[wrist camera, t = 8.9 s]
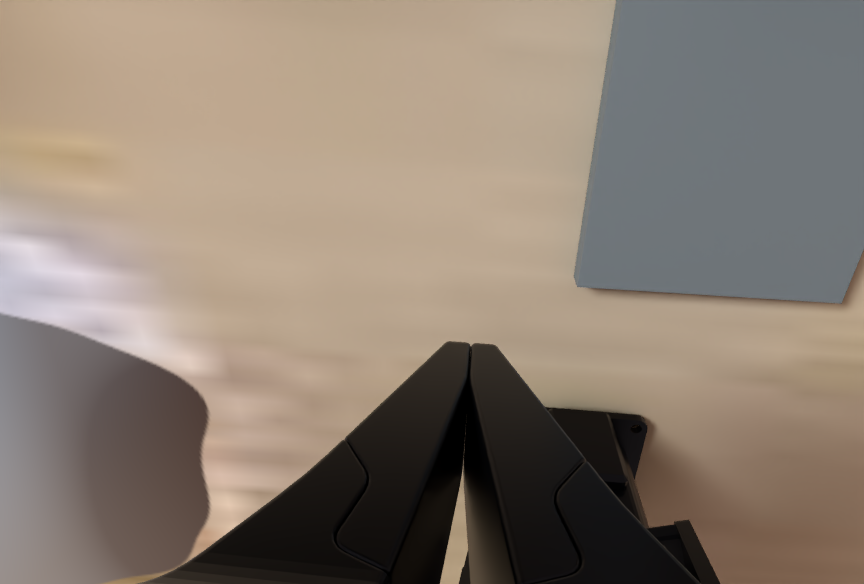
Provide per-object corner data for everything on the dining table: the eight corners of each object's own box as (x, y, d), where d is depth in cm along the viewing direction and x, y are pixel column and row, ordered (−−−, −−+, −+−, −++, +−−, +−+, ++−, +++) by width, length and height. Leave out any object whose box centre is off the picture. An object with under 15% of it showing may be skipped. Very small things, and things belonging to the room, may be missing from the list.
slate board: (826, 291, 21) (874, 329, 19) (573, 276, 22) (584, 310, 20) (1058, -296, 14) (1193, -372, 11) (659, -286, 15) (697, -355, 12)
